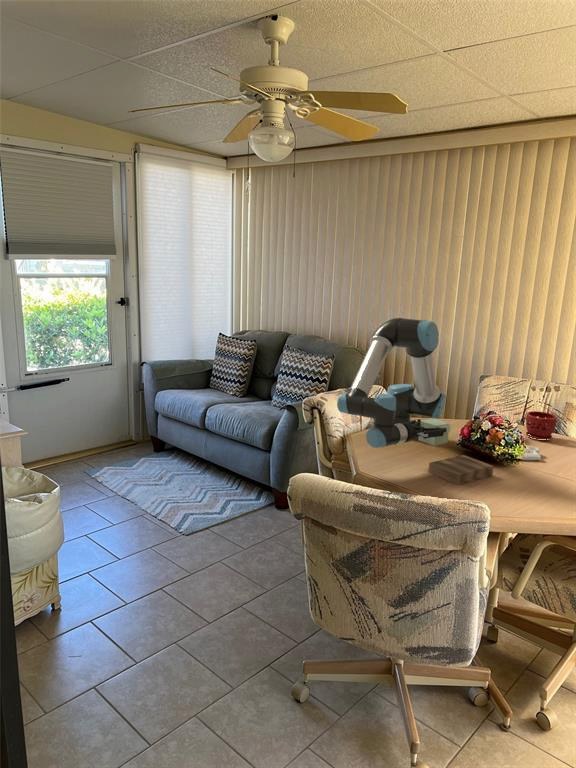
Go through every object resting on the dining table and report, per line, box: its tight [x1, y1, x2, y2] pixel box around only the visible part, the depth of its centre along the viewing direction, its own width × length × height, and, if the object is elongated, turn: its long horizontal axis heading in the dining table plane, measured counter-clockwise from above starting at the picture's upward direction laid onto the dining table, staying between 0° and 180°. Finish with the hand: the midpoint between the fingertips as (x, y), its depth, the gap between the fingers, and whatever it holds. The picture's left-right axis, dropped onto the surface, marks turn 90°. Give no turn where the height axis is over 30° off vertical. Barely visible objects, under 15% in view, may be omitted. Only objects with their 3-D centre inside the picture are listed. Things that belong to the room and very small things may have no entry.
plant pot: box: [525, 410, 558, 440], centre depth 270 cm, size 13×13×12 cm
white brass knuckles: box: [521, 445, 542, 461], centre depth 243 cm, size 3×18×15 cm
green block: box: [418, 418, 451, 446], centre depth 227 cm, size 8×8×8 cm
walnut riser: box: [428, 454, 494, 486], centre depth 216 cm, size 20×14×4 cm
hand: (440, 425), depth 229 cm, fingers closed on green block, 8 cm apart
